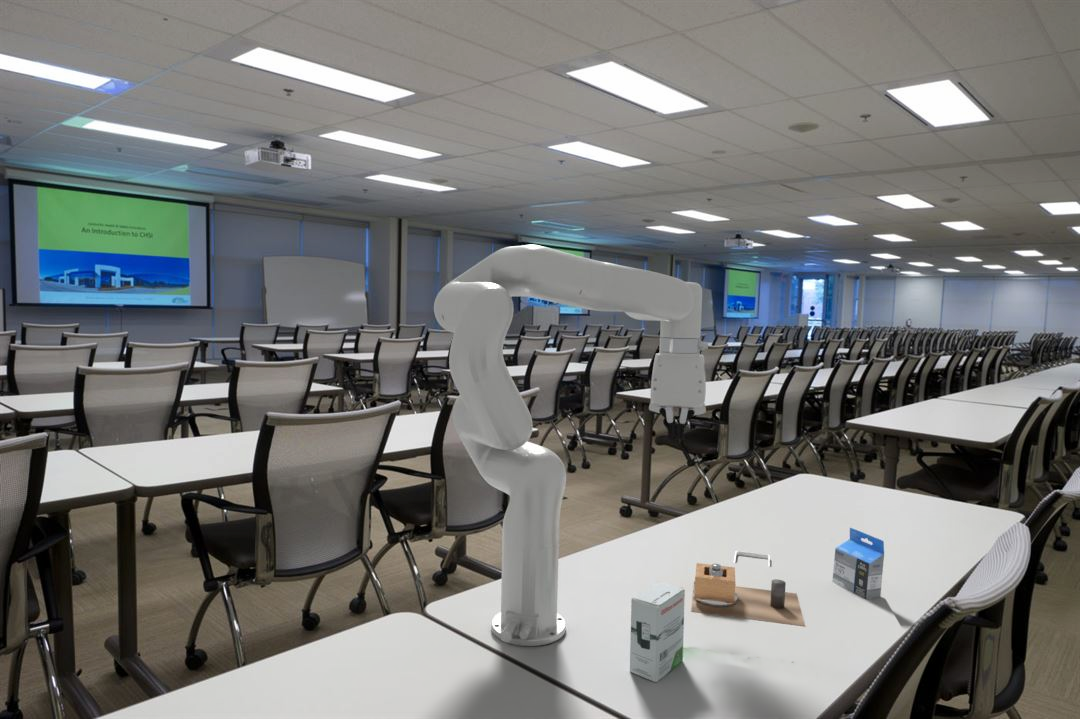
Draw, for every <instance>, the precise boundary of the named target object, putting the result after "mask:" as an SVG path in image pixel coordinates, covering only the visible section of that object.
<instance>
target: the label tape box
mask: <svg viewBox="0 0 1080 719" xmlns="http://www.w3.org/2000/svg"><path fill="white" fill-rule="evenodd" d="M862 539H863V540H865V539H867V540H868V541H869V542H870V543H872V544H870V543H869V542H866V541H863V540H862ZM833 562H834V563H833V570H832V583H834V584H836V585H837V586H839V587H841V588H843V589H845V590H847V591H849V592H851V593H852V594H854V595H857V596H859V597H861V598H863V599H865V600H871V599H876V598H881V597H882V596H881V595H882V594H881V593H882V582H883V572H884V562H885V544H884V540H882V539H880V538H878V537H875V536H872V535H870V534H868V533H865V532H863V531H860V530H858V529H855V528H852V527H849V539H848V540H846V541H845V542H843V543H842V544H840V545H838V546H837V547H835V548H834V559H833Z"/></svg>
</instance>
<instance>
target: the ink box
mask: <svg viewBox="0 0 1080 719" xmlns="http://www.w3.org/2000/svg"><path fill="white" fill-rule="evenodd" d="M685 591H686V590H685V588H683V587H681V586H677V585H673V584H669V583H666V582H665V583H664V582H661V581H657V582H656V583H654V584H653V585H651V586H650V587H648V588H646V589H645V590H643V591H641V592H640V593H638V594H636V595H634V596H633V597H632V598H631V601H630V602H631V604H630V605H631V606H630V607H631V612H630V613H631V614H630V646H629V647H630V650H629V672H630V673H633V674H635V675H637V676H639V677H642V678H643V679H647V680H649V681H651V682H654V683H658V682H659V681H660V680H661V679H662V678H664V677H665V676H666V675H667V674H668V673H669V672H671V671H672V670H673V669H674V668H676V667H677V666H678V665H679V664H681V662H682V661H683V660H684V659H683V658H684V629H685V627H684V626H685V625H684V623H685V595H686V594H685V593H686V592H685Z"/></svg>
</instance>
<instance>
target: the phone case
mask: <svg viewBox="0 0 1080 719" xmlns="http://www.w3.org/2000/svg"><path fill="white" fill-rule="evenodd" d="M737 556H745V557H751V558H752V557H753V558H759V559H767V561H768V562H767V563H768V564H767V565H768V567H771V555H770V554H766V553H757V552H752V551H751V552H750V551H744V550H743V551H742V550H735V552H734V558H733V563H734V564H735V563H736V560H737Z"/></svg>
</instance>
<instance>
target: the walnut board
mask: <svg viewBox="0 0 1080 719" xmlns="http://www.w3.org/2000/svg"><path fill="white" fill-rule="evenodd" d="M694 588H695V580H694V581H693V589H694ZM693 589H692V590H693ZM735 592H736V593H737V603H736V604H735V605H734V606H731V607H726V608H716V607H710V606H706V605H703V604H700V603H698V602H697V601H695V600H694V598H693V597H692V599H691V600H692V601H691V608H690V609H691V610H690V611H691V612H692V613H698V614H704V615H706V614H707V615H712V616H713V615H714V616H720V617H721V616H722V617H727V618H728V617H729V618H736V619H744V620H753V621H761V622H766V623H769V622H770V623H776V624H782V625H790V626H799V627H806V624H805V620H804V616H803V613H802V609H801V605H800V601H799V597H798V594H797V592H796V593H795V592H786V581H785V580H782V579H776V578H775V579H774V578H773V579H771V586H770V589H764V588H763V589H762V588H753V587H745V586H737V585H735Z"/></svg>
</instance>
